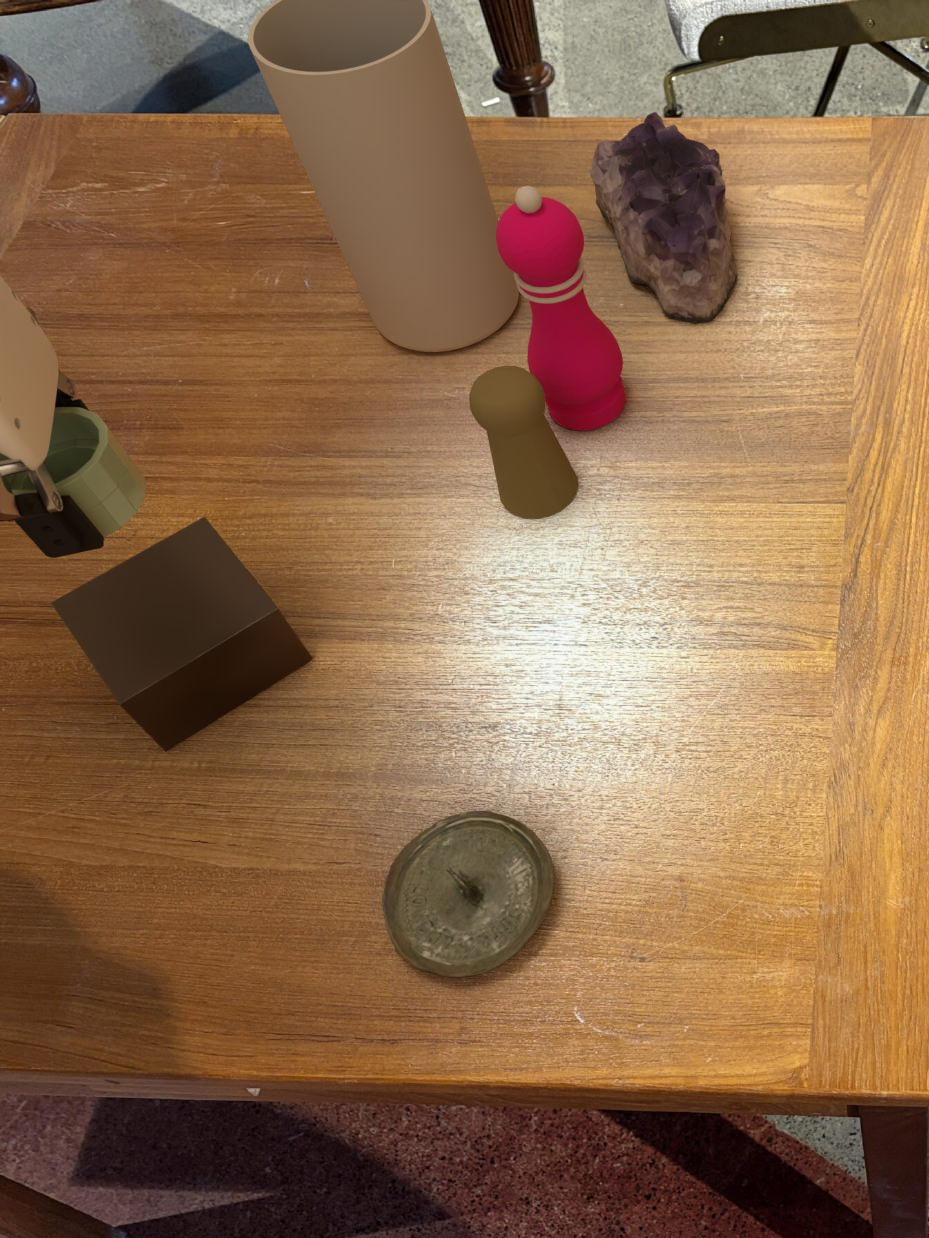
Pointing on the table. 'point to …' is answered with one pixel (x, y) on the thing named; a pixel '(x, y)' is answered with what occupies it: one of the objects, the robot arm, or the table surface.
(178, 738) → the stand
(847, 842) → the table surface
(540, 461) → the brown peg doll
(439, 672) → the table surface
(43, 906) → the table surface
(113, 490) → the bowl
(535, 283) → the pepper mill
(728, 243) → the geode
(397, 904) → the lid
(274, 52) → the cylinder vase
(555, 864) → the table surface
